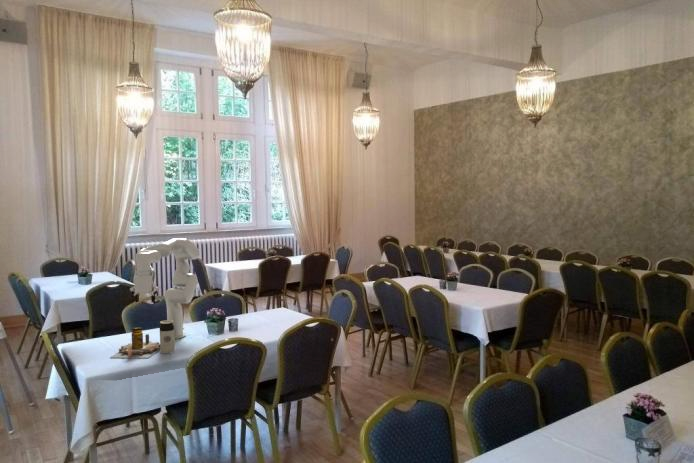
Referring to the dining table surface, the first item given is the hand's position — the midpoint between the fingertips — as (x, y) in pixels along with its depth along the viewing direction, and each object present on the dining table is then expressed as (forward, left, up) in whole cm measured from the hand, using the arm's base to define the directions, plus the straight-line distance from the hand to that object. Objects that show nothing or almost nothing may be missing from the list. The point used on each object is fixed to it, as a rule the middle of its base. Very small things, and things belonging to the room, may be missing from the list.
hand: (145, 301), depth 321 cm
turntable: (+3, -3, -29) cm, 29 cm away
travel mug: (+5, +14, -29) cm, 33 cm away
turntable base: (+5, -3, -29) cm, 29 cm away
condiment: (+7, -3, -26) cm, 27 cm away
